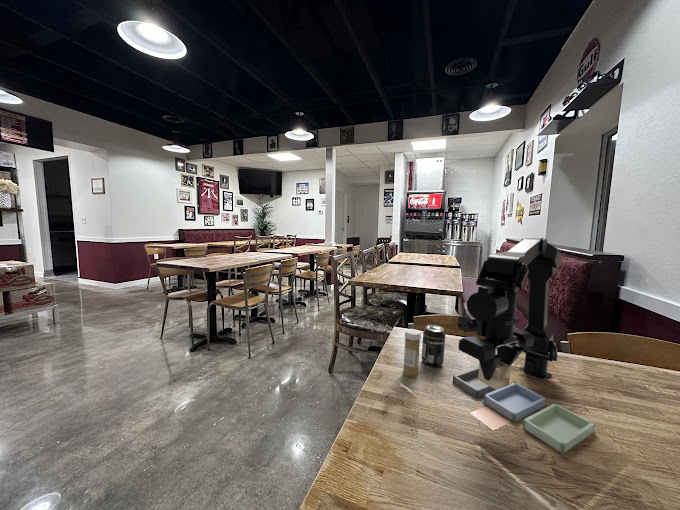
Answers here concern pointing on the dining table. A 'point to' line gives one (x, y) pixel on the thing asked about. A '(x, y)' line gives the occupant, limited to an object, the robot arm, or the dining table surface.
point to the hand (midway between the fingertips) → (493, 377)
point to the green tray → (558, 427)
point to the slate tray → (514, 401)
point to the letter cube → (497, 376)
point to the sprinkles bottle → (411, 352)
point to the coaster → (489, 418)
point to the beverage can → (433, 345)
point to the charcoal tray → (472, 383)
